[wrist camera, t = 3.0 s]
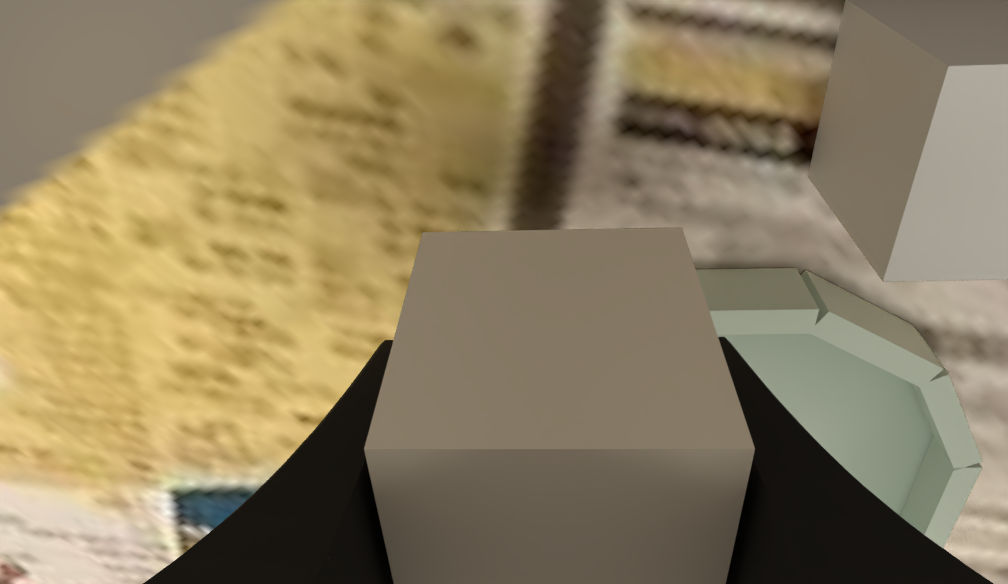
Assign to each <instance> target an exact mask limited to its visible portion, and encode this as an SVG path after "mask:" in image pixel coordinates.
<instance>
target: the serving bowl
mask: <svg viewBox="0 0 1008 584" xmlns="http://www.w3.org/2000/svg"><path fill="white" fill-rule="evenodd" d="M696 272H697V275H698V278H699V281H700V284H701V287H702V290H703V293H704V296H705V299H706V302H707V305H708V308H709V311H710V314H711V317H712V320H713V323H714V326H715V329H716V332H717V336H718V337H725V338H726V339H727V340H728V341H729V342H730V343H731V344H732V345H733V346H734V347H735V349H736V350H737V351H738V352H739V354H740V355H741V356H742V357H743V359H744V360H745V361H746V362H747V363H748V365H749V366H750V367H751V368H752V369H753V371H754V372H755V373H756V374H757V375H758V377H759V378H760V379H761V380H762V381H763V383H764V384H765V385H766V386H767V387H768V388H769V390H770V391H771V392H772V393H773V394H774V395H775V396H776V398H777V399H778V400H779V401H780V402H781V403H782V404H783V405H784V407H785V408H786V409H787V410H788V411H789V412H790V413H791V414H792V415H793V416H794V417H795V418H796V420H797V421H798V422H799V423H800V424H801V425H802V426H803V427H804V428H805V429H806V430H807V431H808V432H809V433H810V434H811V436H812V437H813V438H814V439H815V440H816V441H817V442H818V443H819V444H820V445H821V446H822V447H823V448H824V449H825V450H826V451H827V452H828V453H829V454H830V455H831V456H833V457H834V458H835V459H836V460H837V461H838V462H839V463H840V464H841V465H842V466H843V467H844V468H845V469H846V470H847V471H848V472H849V473H850V474H851V475H852V476H854V477H855V478H856V479H857V480H858V481H859V482H860V483H861V484H862V485H863V486H865V487H866V488H867V489H868V490H869V491H871V492H872V493H873V494H874V495H875V496H877V497H878V498H879V499H880V500H881V501H883V502H884V503H885V504H886V505H887V506H889V507H890V508H891V509H892V510H893V511H895V512H896V513H897V514H898V515H899V516H901V517H902V518H903V519H904V520H906V521H907V522H908V523H910V524H911V525H912V526H913V527H915V528H916V529H917V530H919V531H920V532H921V533H922V534H924V535H925V536H927V537H928V538H929V539H931V540H932V541H933V542H935V543H936V544H938V545H939V546H940V547H942V548H944V546H945V544H946V542H947V539H948V537H949V535H950V533H951V531H952V529H953V527H954V525H955V523H956V521H957V519H958V517H959V515H960V513H961V511H962V508H963V506H964V504H965V502H966V500H967V498H968V496H969V494H970V492H971V490H972V488H973V486H974V484H975V482H976V480H977V477H978V475H979V473H980V471H981V469H982V467H981V465H980V464H979V463H980V462H983V461H982V458H981V456H980V453H979V451H978V448H977V445H976V443H975V440H974V438H973V435H972V433H971V430H970V427H969V425H968V422H967V420H966V417H965V414H964V412H963V409H962V407H961V404H960V402H959V399H958V396H957V394H956V391H955V389H954V386H953V383H952V381H951V378H950V376H949V374H948V372H947V371H946V369H945V368H944V367H943V365H942V364H941V362H940V361H939V360H938V358H937V357H936V355H935V354H934V353H933V351H932V350H931V348H930V347H929V346H928V344H927V343H926V341H925V340H924V339H923V337H922V336H921V334H920V333H919V332H918V330H916V329H915V328H914V326H913V325H912V324H910V323H908V322H906V321H904V320H902V319H900V318H898V317H896V316H894V315H892V314H891V313H889V312H887V311H885V310H883V309H881V308H879V307H877V306H875V305H873V304H871V303H869V302H867V301H865V300H863V299H861V298H859V297H858V296H856V295H854V294H852V293H850V292H848V291H846V290H844V289H842V288H840V287H838V286H836V285H834V284H832V283H830V282H828V281H826V280H824V279H823V278H821V277H819V276H817V275H815V274H813V273H811V272H809V271H807V270H805V271H804V272H803V273H802V274H801V275H800V273H799V272H798V270H797V268H753V269H696Z"/></svg>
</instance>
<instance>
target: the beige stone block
mask: <svg viewBox="0 0 1008 584" xmlns="http://www.w3.org/2000/svg"><path fill="white" fill-rule="evenodd" d="M364 451H365V456H366V460H367V465H368V469H369V474H370V478H371V483H372V488H373V492H374V497H375V501H376V506H377V510H378V515H379V519H380V524H381V528H382V533H383V537H384V542H385V546H386V551H387V555H388V560H389V564H390V569H391V573H392V578H393V582H394V584H726V580H727V575H728V571H729V566H730V562H731V557H732V552H733V548H734V543H735V539H736V534H737V530H738V525H739V520H740V516H741V511H742V507H743V502H744V497H745V493H746V488H747V484H748V479H749V474H750V470H751V465H752V461H753V456H754V451H755V447H754V444H753V441H752V438H751V435H750V432H749V429H748V426H747V423H746V420H745V417H744V414H743V411H742V408H741V405H740V402H739V399H738V396H737V393H736V390H735V387H734V384H733V381H732V378H731V375H730V372H729V369H728V366H727V363H726V360H725V357H724V354H723V351H722V348H721V345H720V342H719V339H718V336H717V332H716V329H715V326H714V323H713V320H712V317H711V314H710V311H709V308H708V305H707V302H706V299H705V296H704V293H703V290H702V287H701V284H700V281H699V278H698V275H697V272H696V269H695V266H694V263H693V260H692V257H691V254H690V251H689V248H688V245H687V242H686V239H685V236H684V233H683V230H682V227H678V228H625V229H571V230H518V231H465V232H423V233H422V237H421V240H420V244H419V248H418V251H417V255H416V259H415V263H414V266H413V270H412V274H411V277H410V281H409V285H408V288H407V292H406V296H405V300H404V303H403V307H402V311H401V314H400V318H399V322H398V325H397V329H396V333H395V337H394V340H393V344H392V348H391V351H390V355H389V359H388V362H387V366H386V370H385V374H384V377H383V381H382V385H381V388H380V392H379V396H378V399H377V403H376V407H375V410H374V414H373V418H372V422H371V425H370V429H369V433H368V436H367V440H366V444H365V447H364Z"/></svg>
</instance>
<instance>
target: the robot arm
mask: <svg viewBox="0 0 1008 584" xmlns="http://www.w3.org/2000/svg"><path fill="white" fill-rule="evenodd" d="M718 339H719V342H720V345H721V348H722V351H723V354H724V357H725V360H726V363H727V366H728V369H729V372H730V375H731V378H732V381H733V384H734V387H735V390H736V393H737V396H738V399H739V402H740V405H741V408H742V411H743V414H744V417H745V420H746V423H747V426H748V429H749V432H750V435H751V438H752V441H753V444H754V447H755V451H754V456H753V461H752V465H751V470H750V474H749V479H748V484H747V488H746V493H745V497H744V502H743V507H742V511H741V516H740V520H739V525H738V530H737V534H736V539H735V543H734V548H733V552H732V557H731V562H730V566H729V571H728V575H727V580H726V584H993V583H992V582H990V581H989V580H987V579H986V578H984V577H983V576H981V575H980V574H978V573H977V572H975V571H974V570H972V569H971V568H970V567H968V566H967V565H965V564H964V563H962V562H961V561H960V560H958V559H957V558H956V557H954V556H953V555H951V554H950V553H949V552H947V551H946V550H944V549H943V548H942V547H940V546H939V545H938V544H936V543H935V542H933V541H932V540H931V539H929V538H928V537H927V536H925V535H924V534H922V533H921V532H920V531H919V530H917V529H916V528H915V527H913V526H912V525H911V524H910V523H908V522H907V521H906V520H904V519H903V518H902V517H901V516H899V515H898V514H897V513H896V512H895V511H893V510H892V509H891V508H890V507H889V506H887V505H886V504H885V503H884V502H883V501H881V500H880V499H879V498H878V497H877V496H875V495H874V494H873V493H872V492H871V491H869V490H868V489H867V488H866V487H865V486H863V485H862V484H861V483H860V482H859V481H858V480H857V479H856V478H855V477H854V476H852V475H851V474H850V473H849V472H848V471H847V470H846V469H845V468H844V467H843V466H842V465H841V464H840V463H839V462H838V461H837V460H836V459H835V458H834V457H833V456H831V455H830V454H829V453H828V452H827V451H826V450H825V449H824V448H823V447H822V446H821V445H820V444H819V443H818V442H817V441H816V440H815V439H814V438H813V437H812V436H811V434H810V433H809V432H808V431H807V430H806V429H805V428H804V427H803V426H802V425H801V424H800V423H799V422H798V421H797V420H796V418H795V417H794V416H793V415H792V414H791V413H790V412H789V411H788V410H787V409H786V408H785V407H784V405H783V404H782V403H781V402H780V401H779V400H778V399H777V398H776V396H775V395H774V394H773V393H772V392H771V391H770V390H769V388H768V387H767V386H766V385H765V384H764V383H763V381H762V380H761V379H760V378H759V377H758V375H757V374H756V373H755V372H754V371H753V369H752V368H751V367H750V366H749V365H748V363H747V362H746V361H745V360H744V359H743V357H742V356H741V355H740V354H739V352H738V351H737V350H736V349H735V347H734V346H733V345H732V344H731V343H730V342H729V341H728V340H727V339H726V338H725V337H718ZM392 344H393V340H385V341H384V342H383V343H382V344H381V345H380V346H379V347H378V348H377V350H376V351H375V353H374V354H373V355H372V357H371V358H370V360H369V361H368V362H367V364H366V365H365V367H364V368H363V369H362V371H361V372H360V373H359V375H358V376H357V377H356V379H355V380H354V381H353V383H352V384H351V385H350V387H349V388H348V389H347V390H346V392H345V393H344V394H343V396H342V397H341V398H340V399H339V401H338V402H337V403H336V404H335V406H334V407H333V408H332V409H331V410H330V412H329V413H328V414H327V415H326V417H325V418H324V419H323V420H322V422H321V423H320V424H319V425H318V426H317V427H316V429H315V430H314V431H313V432H312V433H311V434H310V435H309V437H308V438H307V439H306V440H305V441H304V442H303V443H302V444H301V445H300V447H299V448H298V449H297V450H296V451H295V452H294V453H293V454H292V455H291V456H290V458H289V459H288V460H287V461H286V462H285V463H284V464H283V465H282V466H281V467H280V468H279V469H278V470H277V471H276V472H275V473H274V474H273V475H272V476H271V477H270V478H269V479H268V480H267V481H266V482H265V483H264V484H263V485H262V486H261V487H260V488H259V489H258V490H257V491H256V492H255V493H254V494H253V495H252V496H251V497H250V498H249V499H248V500H247V501H245V502H244V503H243V504H242V505H241V506H240V507H239V508H238V509H237V510H236V511H235V512H233V513H232V514H231V515H230V516H229V517H228V518H226V519H225V520H224V521H223V522H222V523H221V524H219V525H218V526H217V527H216V528H215V529H214V530H212V531H211V532H210V533H209V534H207V535H206V536H205V537H204V538H203V539H201V540H200V541H199V542H198V543H196V544H195V545H194V546H193V547H191V548H190V549H189V550H188V551H187V552H185V553H184V554H183V555H182V556H180V557H179V558H178V559H176V560H175V561H174V562H172V563H171V564H170V565H168V566H167V567H165V568H164V569H163V570H161V571H160V572H159V573H157V574H156V575H155V576H153V577H152V578H150V579H149V580H148V581H146V582H145V583H143V584H394V582H393V578H392V573H391V569H390V564H389V560H388V555H387V551H386V546H385V542H384V537H383V533H382V528H381V524H380V519H379V515H378V510H377V506H376V501H375V497H374V492H373V488H372V483H371V478H370V474H369V469H368V465H367V460H366V456H365V451H364V447H365V444H366V440H367V436H368V433H369V429H370V425H371V422H372V418H373V414H374V410H375V407H376V403H377V399H378V396H379V392H380V388H381V385H382V381H383V377H384V374H385V370H386V366H387V362H388V359H389V355H390V351H391V348H392Z"/></svg>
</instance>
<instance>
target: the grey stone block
mask: <svg viewBox="0 0 1008 584" xmlns="http://www.w3.org/2000/svg"><path fill="white" fill-rule="evenodd" d="M808 177H809V179H810V180H811V182H812V183H813V184H814V186H815V187H816V189H817V190H818V191H819V193H820V194H821V196H822V197H823V198H824V200H825V201H826V203H827V204H828V205H829V207H830V208H831V210H832V211H833V212H834V214H835V215H836V217H837V218H838V219H839V221H840V222H841V224H842V225H843V226H844V228H845V229H846V231H847V232H848V233H849V235H850V236H851V238H852V239H853V240H854V242H855V243H856V245H857V246H858V247H859V249H860V250H861V252H862V253H863V254H864V256H865V257H866V259H867V260H868V261H869V263H870V264H871V266H872V267H873V268H874V270H875V271H876V273H877V274H878V275H879V277H880V278H881V280H882V281H883V282H895V281H957V280H1008V0H845V4H844V9H843V13H842V18H841V23H840V27H839V32H838V37H837V42H836V46H835V51H834V56H833V60H832V65H831V70H830V75H829V79H828V84H827V89H826V94H825V98H824V103H823V108H822V112H821V117H820V122H819V127H818V131H817V136H816V141H815V145H814V150H813V155H812V160H811V164H810V169H809V174H808Z"/></svg>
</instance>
